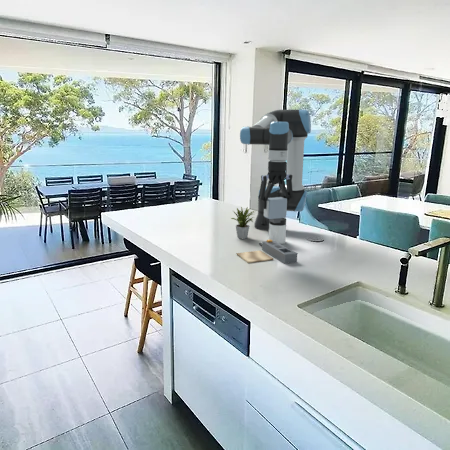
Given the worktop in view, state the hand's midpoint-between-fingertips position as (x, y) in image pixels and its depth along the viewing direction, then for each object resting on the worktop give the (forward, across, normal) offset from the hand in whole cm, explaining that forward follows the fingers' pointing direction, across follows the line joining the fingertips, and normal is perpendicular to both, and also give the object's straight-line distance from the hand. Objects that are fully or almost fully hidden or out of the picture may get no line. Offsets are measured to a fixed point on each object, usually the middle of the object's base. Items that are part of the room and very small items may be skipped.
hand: (275, 215), depth 158 cm
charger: (+3, 0, 0) cm, 3 cm away
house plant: (+19, +2, +33) cm, 38 cm away
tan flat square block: (+19, -7, +4) cm, 21 cm away
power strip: (+19, +4, +6) cm, 21 cm away
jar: (+19, +15, +21) cm, 32 cm away
